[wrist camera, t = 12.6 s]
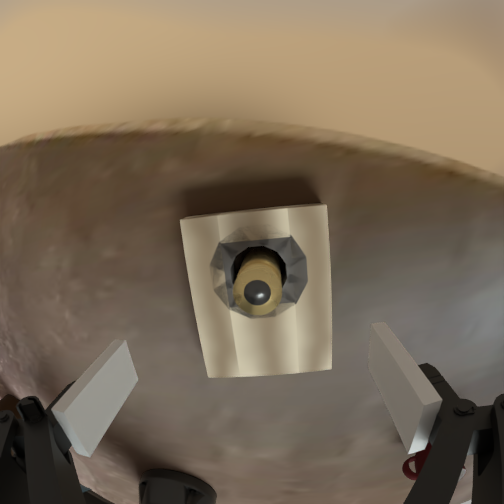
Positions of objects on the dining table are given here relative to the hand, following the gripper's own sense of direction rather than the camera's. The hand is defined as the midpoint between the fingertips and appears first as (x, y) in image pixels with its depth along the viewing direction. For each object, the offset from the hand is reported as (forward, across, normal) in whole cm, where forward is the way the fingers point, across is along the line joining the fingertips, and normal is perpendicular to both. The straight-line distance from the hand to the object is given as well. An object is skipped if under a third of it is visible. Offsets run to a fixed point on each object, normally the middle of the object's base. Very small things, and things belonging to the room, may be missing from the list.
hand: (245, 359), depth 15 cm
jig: (+18, 0, -3) cm, 18 cm away
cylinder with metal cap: (+18, 0, 0) cm, 18 cm away
